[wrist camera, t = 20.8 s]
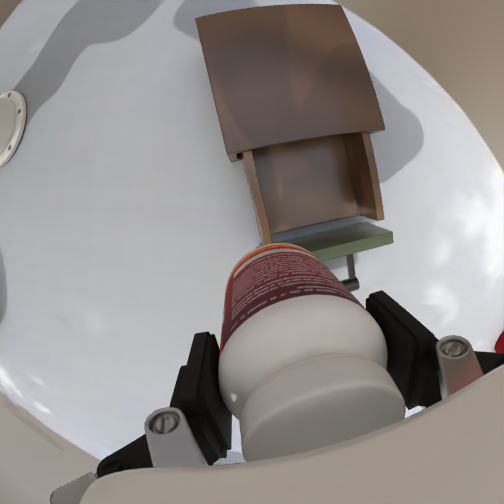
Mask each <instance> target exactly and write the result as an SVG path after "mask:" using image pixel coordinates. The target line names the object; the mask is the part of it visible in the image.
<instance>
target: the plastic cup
mask: <svg viewBox="0 0 504 504" xmlns="http://www.w3.org/2000/svg"><path fill="white" fill-rule="evenodd" d="M495 351H496V353H504V332H503V333H502V334H501V335H500V337H499V339H498V340H497V343H496V345H495Z"/></svg>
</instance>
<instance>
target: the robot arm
mask: <svg viewBox="0 0 504 504" xmlns="http://www.w3.org/2000/svg"><path fill="white" fill-rule="evenodd" d="M25 120H26V103H25V100H24V97H23V96H22V94H21V93H19V92H16V91H8V92H5V93H4V94H2V95H1V96H0V166H3V165H4V164H5V163H7V162H8V160H9V159H10V158H11V157H12V155H13V154H14V152H15V150H16V148H17V147H18V144H19V142H20V139H21V137H22V134H23V130H24V126H25ZM366 310H367V311H368V312H369V313H370V314H371V316H372V317H373V318H374V320H375V321H376V322H377V324H378V325H379V327H380V328H381V330H382V332H383V334H384V337H385V340H386V344H387V350H388V361H387V369H386V371H387V372H388V373H389V374H390V376H391V378H392V379H393V381H394V383H395V384H396V386H397V388H398V390H399V391H400V393H401V395H402V397H403V399H404V402H405V406H406V407H407V409H408V410H410V409H412V408H414V407H416V406H418V405H419V406H422V411H420V412H418V413H416V414H413V415H411V416H409V417H407V418H405V419H402V420H400V421H398V422H395V423H393V424H391V425H388V426H386V427H383V428H381V429H378V430H375V431H373V432H370V433H367V434H365V435H362V436H359V437H356V438H353V439H350V440H347V441H343V442H340V443H337V444H333V445H330V446H326V447H323V448H319V449H315V450H311V451H307V452H302V453H298V454H293V455H288V456H283V457H278V458H272V459H266V460H259V461H252V462H244V463H235V464H224V465H215V464H214V463H215V462H216V461H217V460H219V458H227V450H231V435H232V413H231V412H230V410H229V409H228V408H227V406H226V405H225V403H224V401H223V399H222V396H221V393H220V390H219V384H218V366H219V354H220V349H219V346H218V343H217V340H216V337H215V335H214V334H211V335H210V333H209V332H202V333H196V334H195V335H194V339H193V343H192V346H191V350H190V354H189V358H188V362H187V365H185V366H181V368H180V370H179V374H178V377H177V381H176V384H175V388H174V392H173V395H172V399H171V403H170V407H166V408H161V409H159V410H156V411H154V412H153V413H152V414H150V415H149V416H148V418H147V419H146V421H145V433H146V434H144V435H143V436H141V437H140V438H138V439H136V440H135V441H133V442H131V443H130V444H128V445H126V446H125V447H123V448H121V449H120V450H118V451H116V452H114V453H113V454H111V455H109V456H107V457H106V458H104V459H103V460H102V461H101V462H100V463H99V465H98V467H97V473H95V474H94V473H92V472H89V473H87V474H86V475H84V476H82V477H80V478H78V479H76V480H74V481H72V482H70V483H68V484H66V485H64V486H62V487H59V488H57V489H56V490H55V491H53V493H52V494H51V497H50V503H51V504H504V353H492V352H478V351H473V349H472V346H471V344H470V343H469V341H468V340H466V339H465V338H463V337H461V336H455V335H452V336H446V337H443V338H442V339H440V340H438V339H437V338H436V337H435V335H434V334H433V333H432V332H430V331H429V330H428V329H427V328H426V327H425V326H424V325H422V324H421V323H420V322H419V321H418V320H417V319H416V318H414V317H413V316H412V315H411V314H410V313H409V312H408V311H406V310H405V309H404V308H403V307H402V306H400V305H399V304H398V303H397V302H396V301H395V300H393V299H392V298H391V297H390V296H389V295H387V294H386V293H385V292H384V291H378V292H375V293H371V294H370V295H369V298H367V299H366Z"/></svg>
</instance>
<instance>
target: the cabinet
mask: <svg viewBox="0 0 504 504" xmlns="http://www.w3.org/2000/svg"><path fill="white" fill-rule="evenodd" d="M195 20H196V24H197V29H198V33H199V37H200V42H201V46H202V50H203V54H204V59H205V63H206V67H207V71H208V76H209V80H210V84H211V88H212V93H213V97H214V101H215V105H216V110H217V114H218V118H219V122H220V127H221V131H222V135H223V139H224V143H225V148H226V152H227V155H228V157H229V159H230V162H234V161H239V160H243V159H242V155H241V152H246V151H250V150H255V149H260V148H265V147H270V146H275V145H280V144H285V143H291V142H297V141H303V140H309V139H316V138H323V137H330V136H337V135H346V134H354V133H364V132H369V135H371V134H374V133H377V132H380V131H383V130H385V126H384V122H383V118H382V114H381V111H380V107H379V103H378V100H377V97H376V93H375V90H374V87H373V84H372V81H371V78H370V75H369V72H368V69H367V66H366V63H365V60H364V58H363V55H362V53H361V50H360V47H359V45H358V42H357V40H356V38H355V35H354V33H353V31H352V28H351V26H350V24H349V22H348V19H347V17H346V15H345V13H344V11H343V9H342V7H341V5H331V4H290V5H274V6H263V7H254V8H246V9H239V10H233V11H227V12H222V13H216V14H212V15H207V16H203V17H198V18H195Z"/></svg>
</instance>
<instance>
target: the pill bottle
mask: <svg viewBox="0 0 504 504" xmlns="http://www.w3.org/2000/svg"><path fill="white" fill-rule="evenodd" d="M387 361H388V350H387V344H386V340H385V337H384V334H383V332H382V330H381V328H380V327H379V325H378V324H377V322H376V321H375V320H374V318H373V317H372V316H371V314H370V313H369V312H368V311H367V310H366V309H365V308H364V307H363V306H362V304H361V303H360V302H359V301H358V300H357V299H356V298H355V297H354V296H353V295H352V294H351V293H350V292H349V290H348V289H347V288H346V287H345V286H344V285H343V284H342V283H341V282H340V281H339V280H338V279H337V278H336V276H335V275H334V274H333V273H332V272H331V271H330V270H329V269H328V268H327V267H326V266H325V265H324V264H323V263H322V262H321V261H320V260H319V259H318V258H317V257H316V256H315V255H313V254H312V253H311V252H309V251H307V250H306V249H304V248H302V247H299V246H297V245H293V244H288V243H273V244H268V245H264V246H261V247H259V248H256V249H254V250H252V251H251V252H249V253H248V254H246V255H245V256H244V257H243V258H242V259H241V260H240V261H239V262H238V263H237V264H236V266H235V267H234V269H233V270H232V272H231V274H230V276H229V279H228V282H227V286H226V292H225V302H224V312H223V323H222V333H221V343H220V354H219V366H218V384H219V390H220V393H221V396H222V399H223V401H224V403H225V405H226V406H227V408H228V409H229V410H230V412H231V413H232V414H233V415H234V416H235V417H236V418H237V419H238V420H239V421H240V432H241V444H242V453H243V456H244V459H245V461H246V462H252V461H259V460H266V459H272V458H278V457H283V456H288V455H293V454H298V453H302V452H307V451H311V450H315V449H319V448H323V447H326V446H330V445H333V444H337V443H340V442H343V441H347V440H350V439H353V438H356V437H359V436H362V435H365V434H367V433H370V432H373V431H375V430H378V429H381V428H383V427H386V426H388V425H391V424H393V423H395V422H398V421H400V420H402V419H404V417H405V411H406V408H405V402H404V399H403V397H402V395H401V393H400V391H399V390H398V388H397V386H396V384H395V383H394V381H393V379H392V378H391V376H390V374H389V373H388V372H387V371H386V369H387Z"/></svg>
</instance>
